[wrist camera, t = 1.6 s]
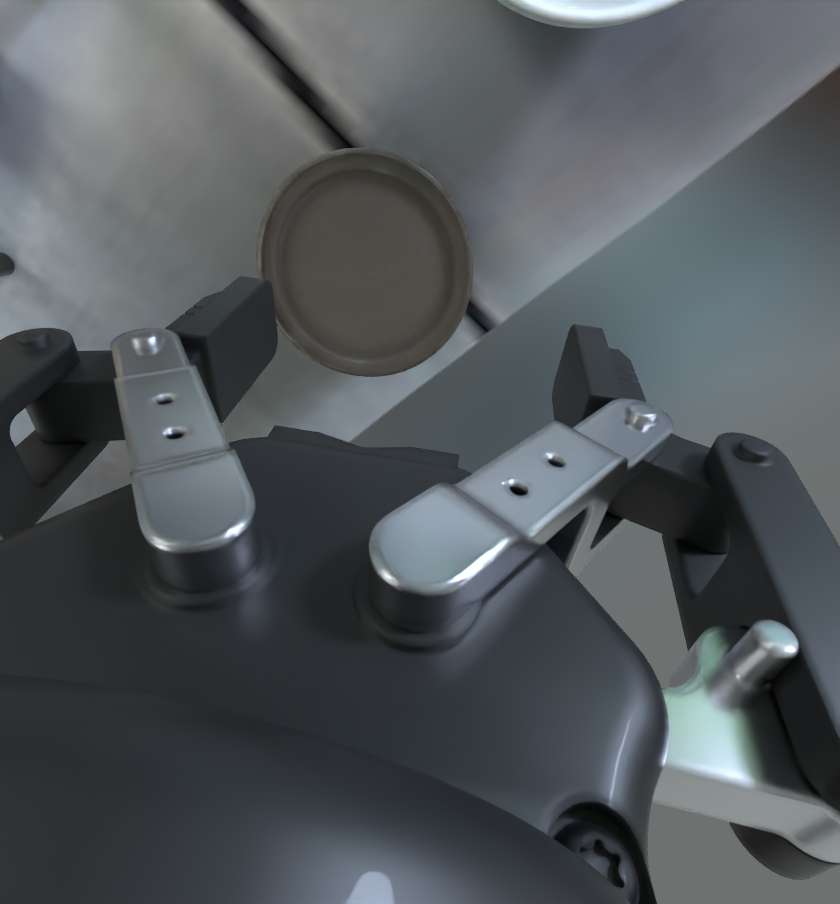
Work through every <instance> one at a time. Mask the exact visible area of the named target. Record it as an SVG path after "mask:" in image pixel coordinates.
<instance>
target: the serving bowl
mask: <svg viewBox="0 0 840 904" xmlns="http://www.w3.org/2000/svg"><path fill="white" fill-rule="evenodd" d="M496 1H498V2H499V3H501V4H502V5H504V6H506V7H507V8H509V9H511V10H513V11H515V12H517V13H519V14H521V15H523V16H525V17H528V18H530V19H533V20H536V21H539V22H542V23H546V24H550V25H554V26H560V27H568V28H601V27H609V26H615V25H620V24H624V23H628V22H632V21H636V20H639V19H642V18H645V17H648V16H651V15H654V14H657V13H659V12H662V11H665V10H667V9H669V8H671V7H673V6H675V5H677V4H679V3H681V2H683V1H685V0H496Z"/></svg>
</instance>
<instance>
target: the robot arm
mask: <svg viewBox="0 0 840 904" xmlns="http://www.w3.org/2000/svg"><path fill="white" fill-rule="evenodd" d="M276 348H277V325H276V315H275V304H274V293H273V287H272V284H271V282H270V281H269V280H264V279H257V278H250V277H243V276H240V277H239V278H237V279H236V280H235V281H234V282H232V283H231V284H230V285H229V286H228V287H226V288H225V289H224V290H223V291H222V292H221V291H220V292H217V293H215V294H212V295H209V296H207V297H204V298H203V299H201V300H200V301H199V302H198V303H196V304H195V305H194V307H193V308H190V309H189V310H188V311H186V312H185V314H183V315H182V316H180V317H179V318H178V319H177V320H175V321H174V322H173V323H172V324H170V325H169V326H168V327H167V328H165V329H161V328H142V329H136V330H132V331H128V332H125V333H123V334H121V335H119V336H117V337H116V338H115V339H114V340H113V341H112V342H111V351H77V349H76V346H75V343H74V340H73V338H72V336H71V334H70V333H68V332H67V331H64V330H61V329H54V328H38V329H30V330H25V331H21V332H17V333H14V334H12V335H9V336H7V337H5V338H3V339H2V340H0V904H657V902H656V898H655V894H654V890H653V887H652V883H651V877H650V871H649V864H648V824H649V816H650V809H651V803H652V802H655V803H659V804H663V805H667V806H670V807H674V808H678V809H682V810H686V811H690V812H694V813H698V814H701V815H706V816H709V817H713V818H718V819H721V820H725V821H729V823H730V826H731V827H732V829H733V831H734V833H735V834H736V836H737V838H738V839H739V840H740V842H741V843H742V845H743V846H744V847H745V848H746V849H747V850H748V852H749V853H750V854H751V855H753V857H754V858H756V859H757V860H758V861H759V862H760V863H762V864H763V865H764V866H765V867H767V868H768V869H770V870H771V871H773V872H775V873H777V874H779V875H781V876H784V877H787V878H790V879H797V880H803V879H809V878H811V877H814V876H816V875H818V874H820V873H823V872H825V871H827V870H829V869H831V868H834V867H836V866H838V865H840V546H839V545H838V543H837V541H836V539H835V538H834V536H833V534H832V533H831V531H830V529H829V528H828V526H827V524H826V522H825V521H824V519H823V517H822V516H821V514H820V512H819V511H818V509H817V507H816V505H815V504H814V502H813V500H812V499H811V497H810V495H809V494H808V492H807V490H806V488H805V487H804V485H803V483H802V482H801V480H800V479H799V476H798V475H797V473H796V471H795V470H794V468H793V466H792V464H791V463H790V461H789V460H788V458H787V457H786V456H785V455H784V454H783V453H782V452H781V451H780V450H779V449H777V448H776V447H774V446H773V445H771V444H769V443H768V442H766V441H763V440H761V439H759V438H756V437H753V436H750V435H746V434H741V433H724V434H721V435H719V436H718V437H717V438H716V440H715V442H714V443H713V445H712V447H711V448H709V447H706V446H703V445H700V444H697V443H694V442H691V441H688V440H685V439H683V438H680V437H678V436H676V435H673V434H672V433H671V432H672V430H673V427H674V424H673V421H672V419H671V418H670V417H669V415H668V414H667V413H665V412H664V411H663V410H661V409H660V408H658V407H656V406H654V405H652V404H650V403H647V402H646V400H645V397H644V394H643V392H642V389H641V386H640V384H639V382H638V379H637V376H636V374H635V373H634V372H635V371H634V369H633V366H632V363H631V361H630V360H629V359H628V358H627V357H626V356H625V355H624V354H623V353H622V352H621V351H619V350H618V349H610V348H609V347H608V345H607V341H606V338H605V335H604V333H603V329H602V328H596V327H589V326H582V325H575V324H574V325H572V326H571V328H570V331H569V333H568V337H567V340H566V343H565V347H564V350H563V353H562V357H561V360H560V364H559V367H558V370H557V374H556V377H555V381H554V386H553V393H552V402H553V411H554V420H555V421H554V422H552V423H551V424H549V425H547V426H546V427H544V428H543V429H541V430H540V431H538V432H537V433H535V434H533V435H532V436H530V437H529V438H527V439H526V440H524V441H523V442H521V443H520V444H518V445H517V446H515V447H513V448H512V449H510V450H509V451H507V452H506V453H504V454H502V455H501V456H499V457H498V458H496V459H495V460H493V461H492V462H490V463H489V464H487V465H485V466H484V467H482V468H481V469H479V470H478V471H476V472H475V473H473V474H472V473H470V472H468V471H466V470H463V469H461V468H458V459H459V455H458V454H451V453H446V452H439V451H433V450H427V449H420V448H414V447H394V448H393V447H388V448H386V447H385V448H366V447H360V446H357V445H354V444H351V443H348V442H345V441H343V440H340V439H337V438H334V437H331V436H328V435H325V434H322V433H319V432H313V431H307V430H301V429H294V428H288V427H282V426H274V427H273V429H272V431H271V432H270V434H269V435H268V437H260V438H250V439H243V440H238V441H234V442H230V443H228V441H227V438H226V436H225V434H224V431H223V429H222V427H221V424H220V423H223V421H224V420H225V419H226V418H227V416H228V415H229V414H230V412H231V411H232V410H233V409H234V407H235V406H236V405H237V403H238V402H239V401H240V400H241V398H242V397H243V396H244V394H245V393H246V392H247V391H248V389H249V388H250V387H251V385H252V384H253V383H254V381H255V380H256V379H257V378H258V376H259V375H260V374H261V372H262V371H263V370H264V369H265V367H266V366H267V365H268V363H269V362H270V361H271V360H272V358H273V357H274V355H275V352H276ZM24 408H26V410H27V412H28V414H29V416H30V418H31V421H32V423H33V425H34V427H35V429H36V430H34V431H33V432H32V433H31V434H30V435H29V436H28V437H26V438H25V439H24V440H23V441H22V442H21V443H20V444H19V445H17V446H16V447H15V446H14V444H13V442H12V440H11V437H10V425H11V422H12V420H13V419H14V417H15V416H16V415H17V414H18V413H19V412H21V411H22V410H23V409H24ZM114 440H126V445H127V450H128V455H129V460H130V465H131V472H130V478H131V484H129V485H127V486H125V487H122V488H120V489H118V490H115V491H113V492H111V493H108V494H106V495H103V496H101V497H99V498H96V499H94V500H92V501H89V502H87V503H85V504H82V505H80V506H78V507H75V508H73V509H71V510H68V511H66V512H64V513H61V514H59V515H57V516H54V517H52V518H50V519H47V520H45V521H43V522H40V523H38V524H36V522H37V521H38V520H39V519H40V518H41V517H42V516H43V515H44V514H45V513H46V511H47V510H48V509H49V508H50V507H51V506H52V505H53V504H54V503H55V502H56V501H57V499H58V498H59V497H60V496H61V495H62V494H63V493H64V492H65V491H66V490H67V488H68V487H69V486H70V485H71V484H72V483H73V482H74V481H75V480H76V479H77V478H78V476H79V475H80V474H81V473H82V472H83V471H84V470H85V469H86V468H87V467H88V465H89V464H90V463H91V462H92V461H93V460H94V459H95V458H96V457H97V456H98V455H99V453H100V452H101V451H102V450H103V449H104V448H105V447H106V445H107V444H108V442H109V441H114ZM628 520H629V521H631V522H634V523H636V524H639V525H642V526H644V527H647V528H649V529H652V530H654V531H657V532H659V533H662V539H663V544H664V548H665V552H666V557H667V561H668V565H669V570H670V574H671V579H672V583H673V587H674V592H675V596H676V600H677V605H678V609H679V614H680V618H681V622H682V626H683V631H684V635H685V639H686V644H687V648H688V653H687V654H686V655H685V656H684V657H683V659H682V660H681V661H680V662H679V664H678V665H677V666H676V668H675V669H674V670H673V672H672V674H671V676H670V688H661V686H660V683H659V681H658V679H657V677H656V675H655V673H654V671H653V669H652V667H651V666H650V664H649V663H648V661H647V659H646V658H645V656H644V655H643V653H642V652H641V651H640V650H639V648H638V647H637V646H636V645H635V644H634V642H633V641H632V640H631V639H630V638H629V637H628V636H627V634H626V633H625V632H624V631H623V630H622V629H621V628H620V627H619V625H617V623H616V622H615V621H614V620H613V619H612V618H611V616H610V615H609V614H608V613H607V612H606V611H605V610H604V609H603V607H602V606H601V605H600V604H599V603H598V602H597V601H596V600H595V598H594V597H593V596H592V595H591V594H590V593H589V592H588V591H587V590H586V588H585V587H584V586H583V585H582V584H581V583H580V582H579V581H578V579H577V578H576V577H577V575H578V574H579V573H580V571H581V570H582V569H583V567H584V566H585V565H586V564H587V563H588V562H589V561H590V559H591V558H592V557H593V556H594V555H595V554H596V553H597V552H598V551H599V550H600V549H601V548H602V547H603V546H604V545H605V544H606V543H607V542H608V541H609V540H610V539H611V538H612V537H613V536H614V535H615V534H616V533H617V532H618V531H619V530H620V529H621V528H622V527H623V526H624V525H625V524H626V523H627V521H628ZM35 524H36V525H35Z"/></svg>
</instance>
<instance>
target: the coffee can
mask: <svg viewBox="0 0 840 904" xmlns="http://www.w3.org/2000/svg"><path fill="white" fill-rule="evenodd" d="M256 259H257V272H258V279H264V280H269V281H270V282H271V284H272V287H273V293H274V304H275V315H276V324H277V325H278V327H279V329H280V330H281V331H282V333H283V334H284V335H285V336H286V337H287V339H288V340H289V341H290V342H291V343H292V344H293V345H294V346H296V347H297V348H298V349H299V350H300V351H301V352H302V353H304V354H305V355H306V356H308V357H309V358H311V359H312V360H314V361H316V362H317V363H319V364H321V365H323V366H325V367H328V368H330V369H333V370H335V371H338V372H341V373H345V374H350V375H355V376H365V377H377V376H386V375H392V374H396V373H400V372H403V371H406V370H408V369H410V368H413V367H415V366H417V365H419V364H420V363H422V362H424V361H425V360H427V359H428V358H429V357H431V356H432V355H434V354H435V353H436V352H437V351H438V350H439V349H440V348H441V347H442V346H443V345H444V344H445V343H446V342H447V341H448V340H449V339H450V337H451V336H452V335H453V333H454V332H455V330H456V329H457V327H458V325H459V324H460V322H461V320H462V317H463V315H464V313H465V311H466V308H467V304H468V301H469V298H470V294H471V289H472V281H473V254H472V247H471V242H470V238H469V235H468V232H467V228H466V225H465V223H464V220H463V218H462V216H461V214H460V212H459V210H458V208H457V206H456V205H455V203H454V202H453V200H452V198H451V197H450V195H449V194H448V193H447V191H446V190H445V189H444V188H443V187H442V186H441V185H440V184H439V183H438V182H437V181H436V179H435V178H433V177H432V176H431V175H430V174H429V173H428V172H426V171H425V170H424V169H422V168H421V167H419V166H418V165H416V164H414V163H413V162H411V161H409V160H407V159H405V158H403V157H401V156H398V155H396V154H394V153H390V152H386V151H382V150H377V149H373V148H347V149H341V150H336V151H332V152H329V153H325V154H323V155H321V156H318V157H316V158H314V159H312V160H310V161H309V162H307V163H306V164H304V165H302V166H301V167H299V168H298V169H297V170H296V171H295V172H293V173H292V174H291V175H290V176H289V177H288V178H287V179H286V180H285V181H284V182H283V183H282V185H281V186H280V187H279V188H278V190H277V191H276V193H275V194H274V196H273V197H272V199H271V201H270V203H269V205H268V207H267V209H266V212H265V214H264V216H263V219H262V222H261V225H260V230H259V234H258V242H257V251H256Z"/></svg>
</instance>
